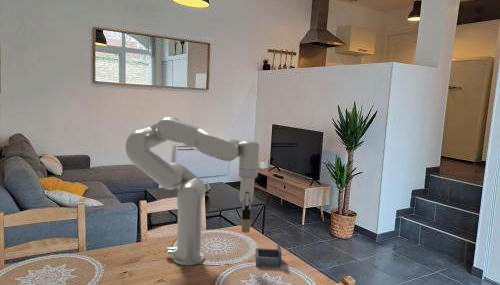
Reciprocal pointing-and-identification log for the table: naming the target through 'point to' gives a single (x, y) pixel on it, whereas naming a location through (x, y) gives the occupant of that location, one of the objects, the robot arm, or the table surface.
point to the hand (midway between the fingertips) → (246, 216)
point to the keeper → (268, 257)
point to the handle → (246, 220)
